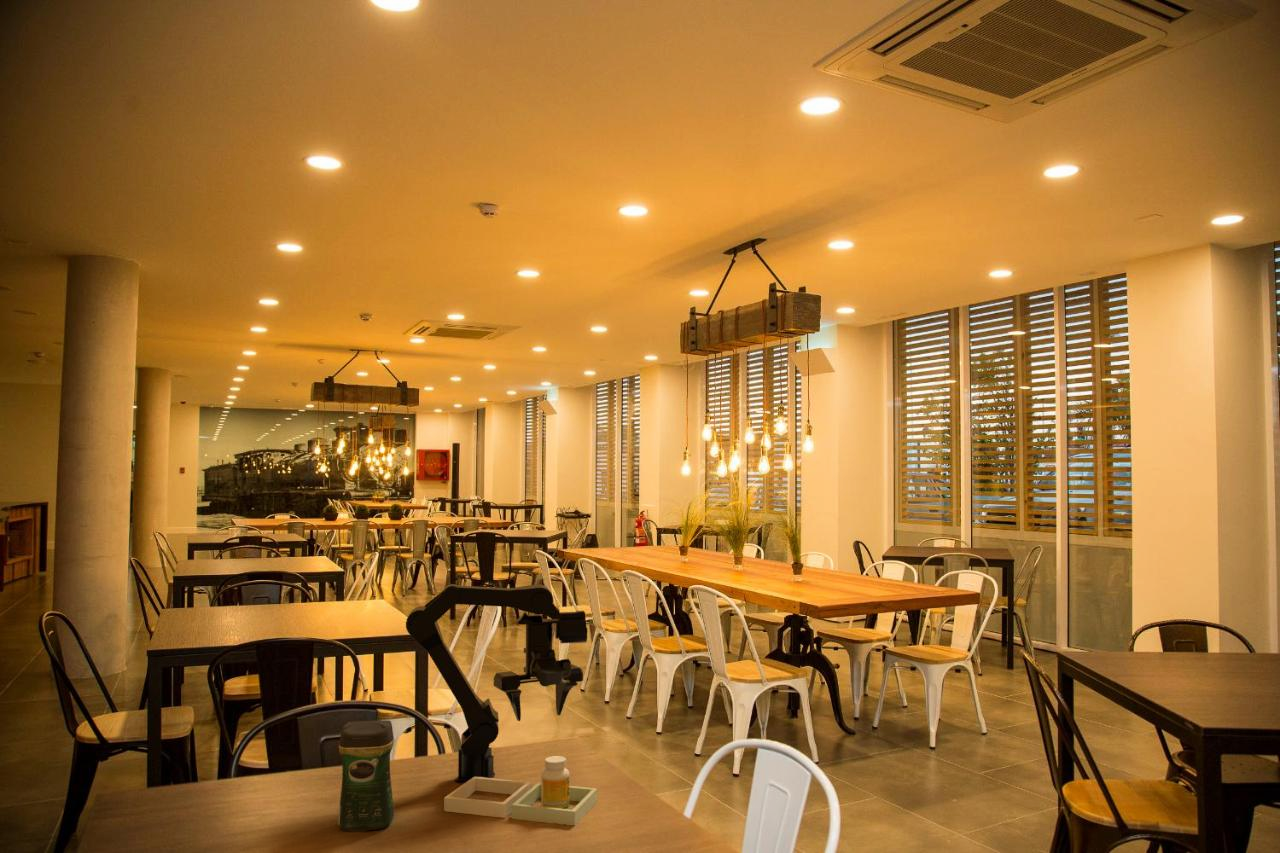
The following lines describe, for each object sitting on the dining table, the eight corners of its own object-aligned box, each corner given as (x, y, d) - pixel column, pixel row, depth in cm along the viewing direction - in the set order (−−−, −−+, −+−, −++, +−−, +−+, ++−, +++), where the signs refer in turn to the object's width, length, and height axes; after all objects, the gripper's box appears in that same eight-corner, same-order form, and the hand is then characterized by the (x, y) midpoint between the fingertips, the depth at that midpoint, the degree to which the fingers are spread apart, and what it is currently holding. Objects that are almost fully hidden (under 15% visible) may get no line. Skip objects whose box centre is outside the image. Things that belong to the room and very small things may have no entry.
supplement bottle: (538, 807, 172) (538, 756, 173) (565, 803, 174) (565, 753, 175) (545, 816, 167) (545, 764, 168) (572, 813, 169) (572, 761, 170)
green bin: (511, 818, 166) (511, 804, 167) (537, 795, 178) (537, 782, 179) (575, 825, 163) (575, 811, 163) (597, 801, 175) (597, 788, 175)
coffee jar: (396, 815, 168) (398, 715, 169) (388, 831, 160) (389, 726, 161) (344, 817, 167) (345, 716, 169) (333, 833, 160) (335, 728, 161)
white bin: (444, 811, 170) (444, 797, 170) (474, 789, 182) (474, 776, 182) (504, 817, 167) (504, 804, 167) (531, 794, 179) (531, 782, 179)
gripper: (511, 654, 181) (511, 733, 180) (594, 646, 190) (594, 720, 189) (492, 646, 191) (492, 720, 190) (572, 638, 200) (572, 709, 199)
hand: (538, 717), depth 192 cm, fingers open, 9 cm apart
